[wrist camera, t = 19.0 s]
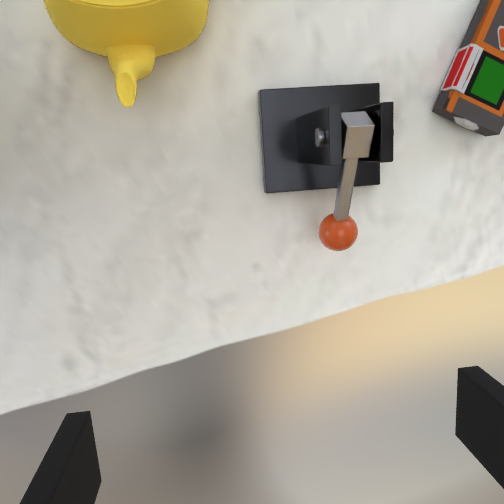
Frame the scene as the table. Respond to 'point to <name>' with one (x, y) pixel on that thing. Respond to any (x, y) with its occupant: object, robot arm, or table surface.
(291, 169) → the switch bracket
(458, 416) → the robot arm
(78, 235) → the table surface
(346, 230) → the switch lever
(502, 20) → the electronic device
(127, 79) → the teapot
